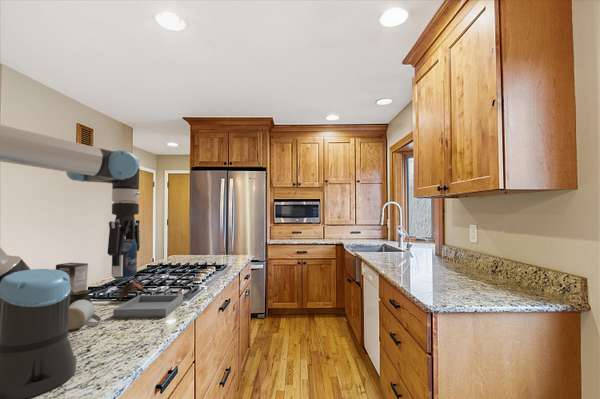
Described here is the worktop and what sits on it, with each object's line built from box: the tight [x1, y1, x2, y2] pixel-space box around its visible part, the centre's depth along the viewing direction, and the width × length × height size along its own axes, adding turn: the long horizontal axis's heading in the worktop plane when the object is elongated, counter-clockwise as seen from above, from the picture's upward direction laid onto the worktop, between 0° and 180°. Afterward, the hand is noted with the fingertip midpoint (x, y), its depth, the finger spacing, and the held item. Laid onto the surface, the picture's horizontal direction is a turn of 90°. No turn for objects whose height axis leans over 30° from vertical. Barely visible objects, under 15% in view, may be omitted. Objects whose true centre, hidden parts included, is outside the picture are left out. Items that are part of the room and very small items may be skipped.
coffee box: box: [55, 262, 89, 298], centre depth 119 cm, size 9×6×16 cm
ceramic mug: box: [68, 300, 102, 331], centre depth 95 cm, size 11×8×8 cm
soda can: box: [111, 238, 138, 280], centre depth 94 cm, size 7×7×12 cm
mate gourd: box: [69, 289, 93, 306], centre depth 107 cm, size 7×8×10 cm
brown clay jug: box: [117, 281, 145, 300], centre depth 127 cm, size 12×10×8 cm
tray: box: [112, 294, 184, 319], centre depth 112 cm, size 18×18×3 cm
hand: (124, 273), depth 94 cm, fingers closed on soda can, 7 cm apart
